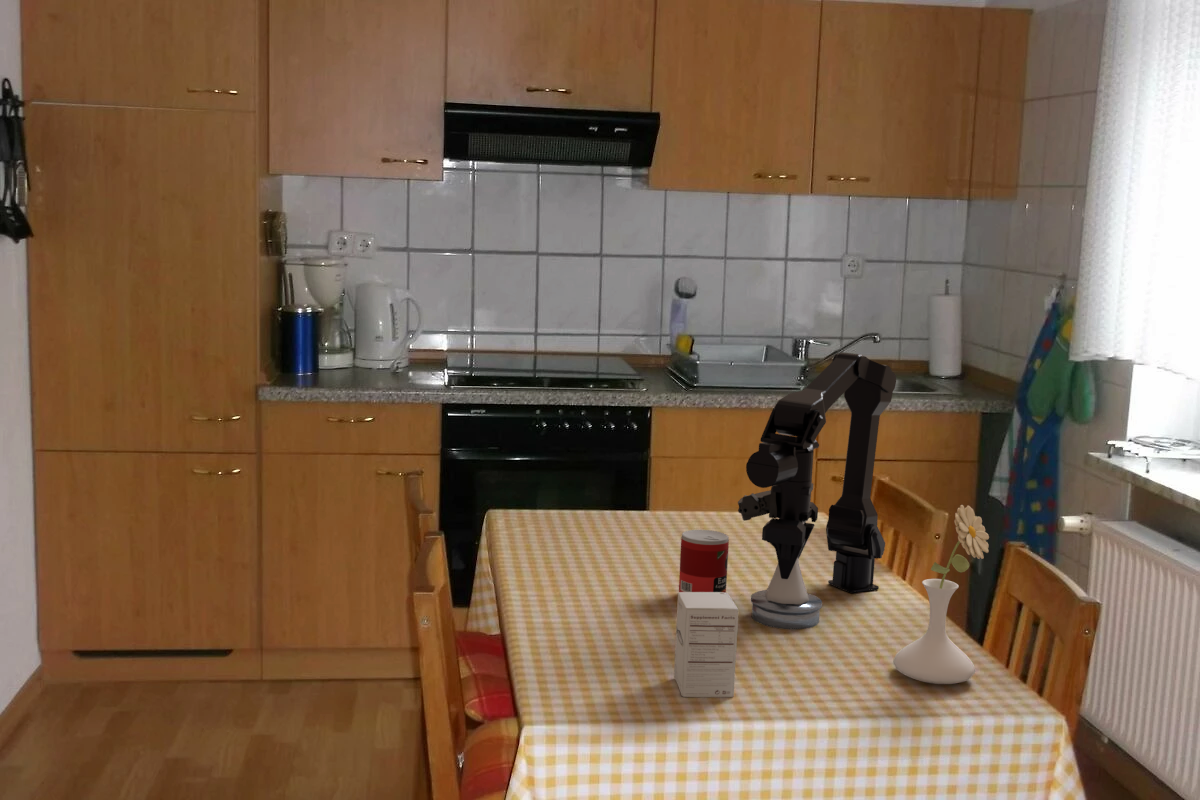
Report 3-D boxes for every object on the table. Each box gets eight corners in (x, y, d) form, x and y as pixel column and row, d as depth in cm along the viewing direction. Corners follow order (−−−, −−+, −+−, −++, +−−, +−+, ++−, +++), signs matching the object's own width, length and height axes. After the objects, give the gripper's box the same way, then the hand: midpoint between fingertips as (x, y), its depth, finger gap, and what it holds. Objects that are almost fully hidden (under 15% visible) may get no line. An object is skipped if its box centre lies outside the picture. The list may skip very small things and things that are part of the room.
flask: (813, 596, 212) (816, 536, 210) (804, 608, 205) (808, 546, 204) (769, 590, 214) (772, 531, 213) (759, 602, 208) (762, 541, 206)
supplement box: (672, 678, 182) (676, 590, 180) (725, 678, 182) (729, 591, 180) (680, 698, 174) (684, 607, 172) (734, 698, 175) (739, 607, 173)
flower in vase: (929, 696, 178) (943, 519, 175) (875, 668, 188) (888, 500, 185) (1000, 683, 184) (1015, 511, 181) (944, 657, 194) (957, 494, 191)
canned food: (723, 607, 215) (726, 542, 213) (675, 602, 216) (678, 538, 214) (728, 594, 222) (731, 531, 220) (681, 589, 223) (684, 527, 222)
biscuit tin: (792, 606, 218) (794, 586, 217) (835, 626, 208) (836, 605, 207) (736, 614, 212) (737, 593, 212) (776, 635, 202) (777, 614, 202)
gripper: (754, 463, 218) (749, 553, 220) (732, 484, 200) (727, 582, 202) (821, 469, 215) (815, 561, 217) (804, 492, 197) (798, 591, 199)
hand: (787, 573), depth 209 cm, fingers open, 6 cm apart
